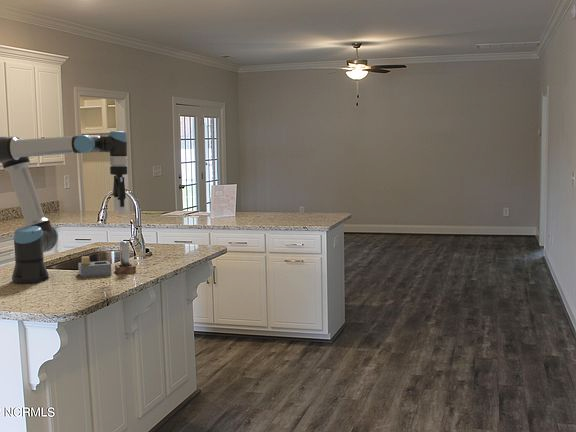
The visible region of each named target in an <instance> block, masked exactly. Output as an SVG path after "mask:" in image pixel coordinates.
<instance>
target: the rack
mask: <svg viewBox="0 0 576 432" xmlns="http://www.w3.org/2000/svg"><path fill="white" fill-rule="evenodd" d="M113 272H114V273H115V274H116V276H117V275H127V274H128V275H129V274H138V272H137V267H136V265H135V264H134V263H130V266H127V267H121V263H119V264H115V265H114V271H113Z"/></svg>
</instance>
